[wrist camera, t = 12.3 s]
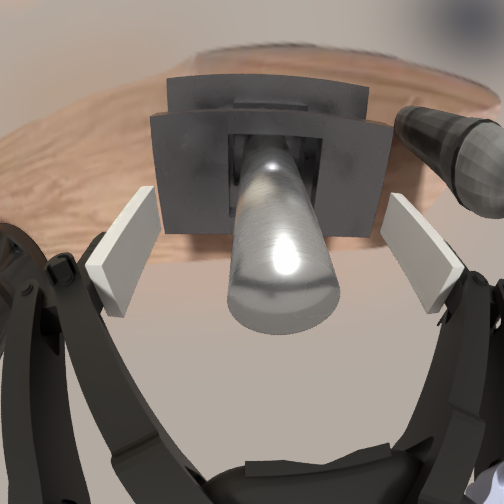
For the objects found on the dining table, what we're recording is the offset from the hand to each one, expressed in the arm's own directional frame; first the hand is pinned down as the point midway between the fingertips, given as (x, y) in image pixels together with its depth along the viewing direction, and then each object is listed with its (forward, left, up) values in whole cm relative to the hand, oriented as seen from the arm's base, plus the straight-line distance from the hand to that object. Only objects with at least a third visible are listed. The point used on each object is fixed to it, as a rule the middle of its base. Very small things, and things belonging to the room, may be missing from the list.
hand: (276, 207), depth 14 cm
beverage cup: (+15, +4, -13) cm, 20 cm away
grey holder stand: (0, 0, -13) cm, 13 cm away
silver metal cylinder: (0, 0, -12) cm, 12 cm away
